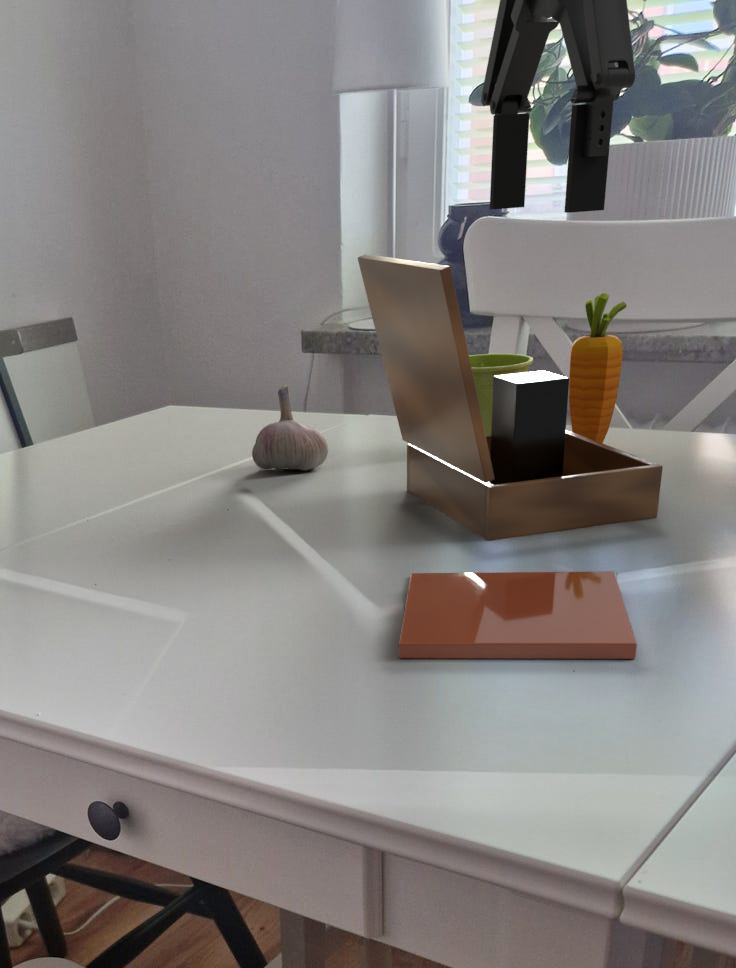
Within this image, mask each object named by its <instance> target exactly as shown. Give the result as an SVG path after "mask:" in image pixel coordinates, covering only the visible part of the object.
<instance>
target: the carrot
mask: <svg viewBox="0 0 736 968" xmlns="http://www.w3.org/2000/svg"><path fill="white" fill-rule="evenodd" d="M609 298H610V294H608V293H607V292H601V293H600V294H599V295H597V296H596V297H595V298H594V300H593V299H592V298H591V299H589V300H587V301H586V302H585V304H584V305H585V313H586V317H587V321H588V325H589V328H590V334H586V335H582V336H579V337H578V338H576V339H575V340H574V341H573V342H572V344H571V347H570V356H569V373H568V375H569V377H568V378H569V390H568V402H569V415H570V425H571V432H573V433H576V434H578V435H581V436H584V437H586V438H589V439H592V440H594V441H597V442H600V443H602V444H604V442H605V439H606V437H607V434H608V432H609V430H610V426H611V423H612V419H613V416H614V411H615V406H616V404H617V400H618V399H617V398H618V394H619V388H620V387H619V385H620V381H621V380H620V379H621V371H622V365H623V364H622V362H623V355H624V353H623V352H624V351H623V349H624V348H623V344H622V340H621V339H619V337H618V336H615V335H612V334H606V332H607V330H608V327H609V326H610V324H611V322H612V321H613V319H614V318H615V317H616V316H617V314H619V313H620V312H621V311H623V310H624V309H626V308H627V303H626V302H624V301H621V302H618V304H616V305H614V306H613V307H612V308H611V310H610V311H609V312H604V311H605V309H606V306H607V304H608V301H609Z"/></svg>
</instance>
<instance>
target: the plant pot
mask: <svg viewBox="0 0 736 968" xmlns="http://www.w3.org/2000/svg"><path fill="white" fill-rule="evenodd" d="M469 358H470V363H471V368H472V372H473V377H474V382H475V387H476V392H477V396H478V401H479V406H480V411H481V416H482V420H483V425H484V430H485V435H488V434H491V426H492V401H493V377H494V376H499V375H508V374H517V373H526V372H529V367H530V366H531V365H532V364H533V363H534V357H532V356H531V355H524V354H518V353H483V354H481V353H480V354H469Z"/></svg>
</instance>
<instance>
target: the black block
mask: <svg viewBox="0 0 736 968" xmlns="http://www.w3.org/2000/svg"><path fill="white" fill-rule="evenodd" d="M568 402H569V377H567V376H563V375H560V374H557V373H553V372H550V371H546V370H536V371H528V372H526V373H517V374H508V375H499V376H494V377H493V401H492V426H491V451H490V459H491V464H492V468H493V473H494V478H495V479H494V480H492V481H489V482H490V483H492V484H494V485H498V484H506V483H514V482H521V481H529V480H537V479H545V478H553V477H561V476H562V474H563V460H564V446H565V432H566V430H567V419H568V418H567V416H568Z"/></svg>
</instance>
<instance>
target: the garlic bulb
mask: <svg viewBox="0 0 736 968" xmlns="http://www.w3.org/2000/svg"><path fill="white" fill-rule="evenodd" d="M277 395H278V401H279V410H280V411H279V412H280V419H279V420H278V421H276V422H271V423H269V424H267V425H265V426H264V427H262V429H261V430H260V431H259V432H258V434H257V436H256V439H255V443H254V445H253V447H252V451H251V456H252V460H253V462H254V464H255V465H256V466H257V467H258V468H259V469H263V470H270V469H271V470H272V469H275V470H284V469H287V470H300V471H309V470H312V469H316V468H318V467H320V466H321V465H322V464H323V463H324V462H325V461H326V460H327V457H328V453H329V445H328V442H327V440H326V438H325V437H324V435H323V434H322V433H321V432H320V431H319V430H317V429H315V428H314V427H312V426H311V427H310V426H306V425H303V424H301V423H299V422H298V421H296V420H294V417H293V413H292V406H291V401H290V394H289V387H288V385H287V384H283V385H282V386H280V387H279V388H278V391H277Z"/></svg>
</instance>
